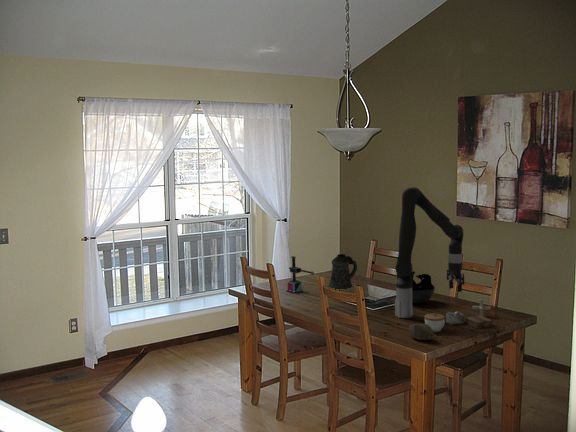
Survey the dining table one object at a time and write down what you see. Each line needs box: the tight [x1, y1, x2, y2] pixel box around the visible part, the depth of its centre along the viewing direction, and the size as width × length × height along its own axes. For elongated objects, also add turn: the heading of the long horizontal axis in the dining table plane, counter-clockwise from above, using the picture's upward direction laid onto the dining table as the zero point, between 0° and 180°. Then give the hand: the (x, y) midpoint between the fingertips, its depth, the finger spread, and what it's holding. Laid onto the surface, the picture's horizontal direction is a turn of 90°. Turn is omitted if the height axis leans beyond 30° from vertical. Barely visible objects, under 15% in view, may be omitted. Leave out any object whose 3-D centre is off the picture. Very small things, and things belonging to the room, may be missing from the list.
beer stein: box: [328, 253, 358, 291], centre depth 433 cm, size 16×19×25 cm
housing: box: [445, 310, 465, 325], centre depth 352 cm, size 8×5×6 cm, turn 105°
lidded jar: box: [424, 312, 446, 333], centre depth 339 cm, size 11×11×9 cm
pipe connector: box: [472, 298, 491, 317], centre depth 362 cm, size 10×10×10 cm
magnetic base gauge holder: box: [285, 255, 315, 294], centre depth 431 cm, size 25×9×24 cm, turn 39°
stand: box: [463, 315, 495, 329], centre depth 347 cm, size 11×11×3 cm
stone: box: [407, 323, 436, 341], centre depth 325 cm, size 17×9×8 cm, turn 40°
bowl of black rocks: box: [412, 271, 436, 304], centre depth 394 cm, size 20×20×19 cm
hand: (455, 290), depth 351 cm, fingers open, 8 cm apart
